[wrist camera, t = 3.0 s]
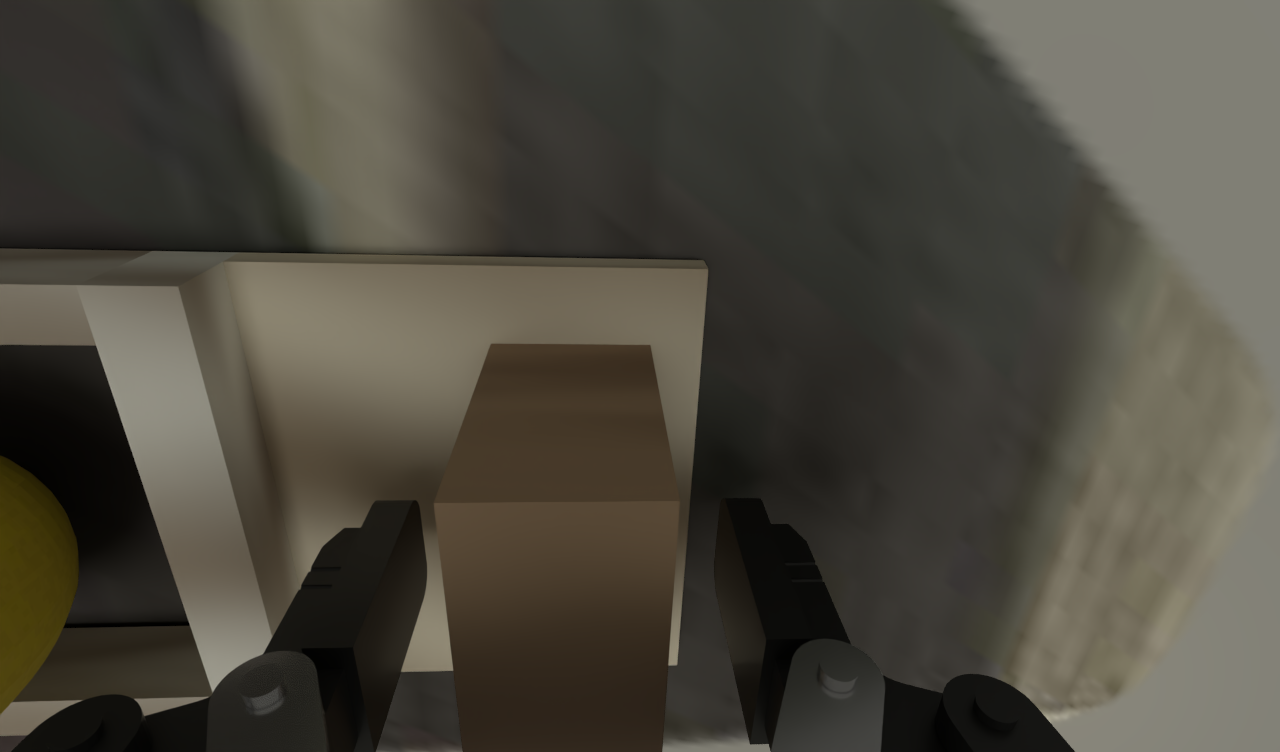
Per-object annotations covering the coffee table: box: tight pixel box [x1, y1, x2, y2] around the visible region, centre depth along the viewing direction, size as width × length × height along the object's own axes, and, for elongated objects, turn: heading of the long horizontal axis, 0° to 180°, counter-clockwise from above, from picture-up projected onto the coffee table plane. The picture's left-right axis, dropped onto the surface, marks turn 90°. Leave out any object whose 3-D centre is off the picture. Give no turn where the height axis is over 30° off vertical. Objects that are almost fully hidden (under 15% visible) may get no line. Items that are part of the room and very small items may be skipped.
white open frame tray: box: [0, 248, 708, 752], centre depth 12 cm, size 10×20×6 cm, turn 88°
